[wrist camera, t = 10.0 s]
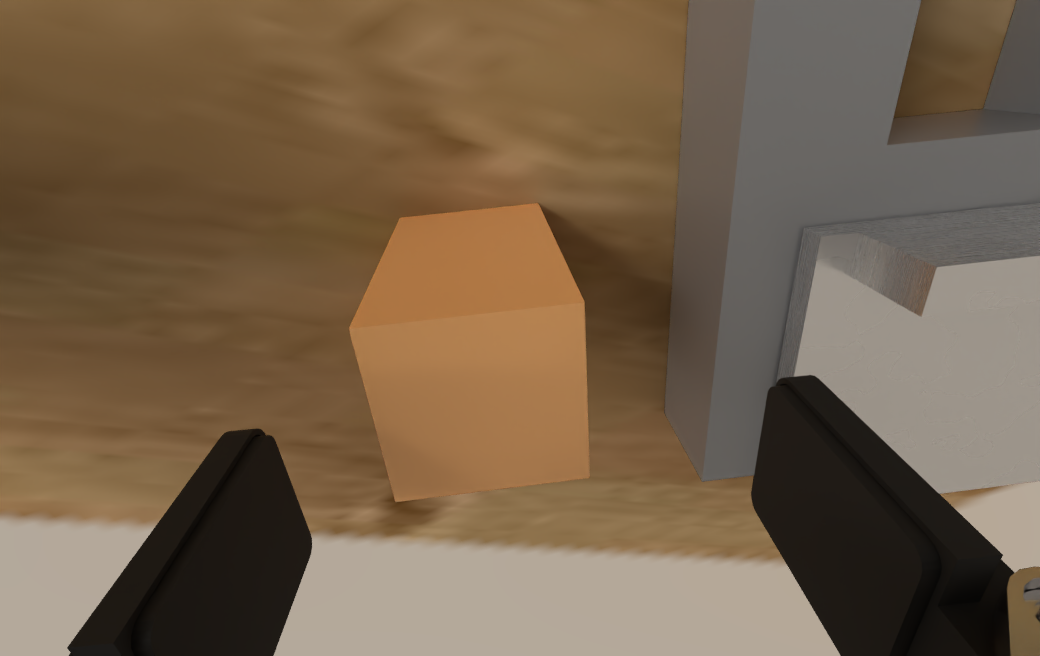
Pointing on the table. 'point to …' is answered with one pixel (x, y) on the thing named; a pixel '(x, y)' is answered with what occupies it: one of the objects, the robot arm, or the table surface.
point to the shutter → (929, 337)
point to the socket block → (810, 181)
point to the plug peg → (475, 355)
